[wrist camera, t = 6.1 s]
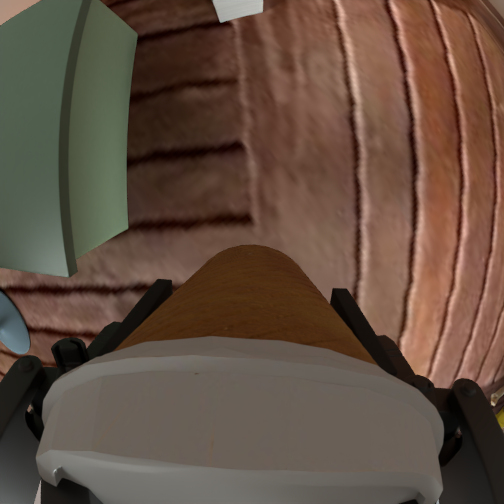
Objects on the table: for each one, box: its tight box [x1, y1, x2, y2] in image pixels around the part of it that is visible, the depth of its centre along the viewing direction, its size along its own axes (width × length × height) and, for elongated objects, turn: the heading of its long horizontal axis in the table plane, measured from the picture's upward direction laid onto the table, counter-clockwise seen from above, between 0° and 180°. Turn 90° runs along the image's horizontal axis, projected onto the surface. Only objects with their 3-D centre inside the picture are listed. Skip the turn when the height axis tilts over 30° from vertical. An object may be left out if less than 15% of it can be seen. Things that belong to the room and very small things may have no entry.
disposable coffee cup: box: [36, 245, 444, 504], centre depth 9 cm, size 10×10×12 cm
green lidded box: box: [0, 0, 138, 277], centre depth 16 cm, size 19×17×10 cm
